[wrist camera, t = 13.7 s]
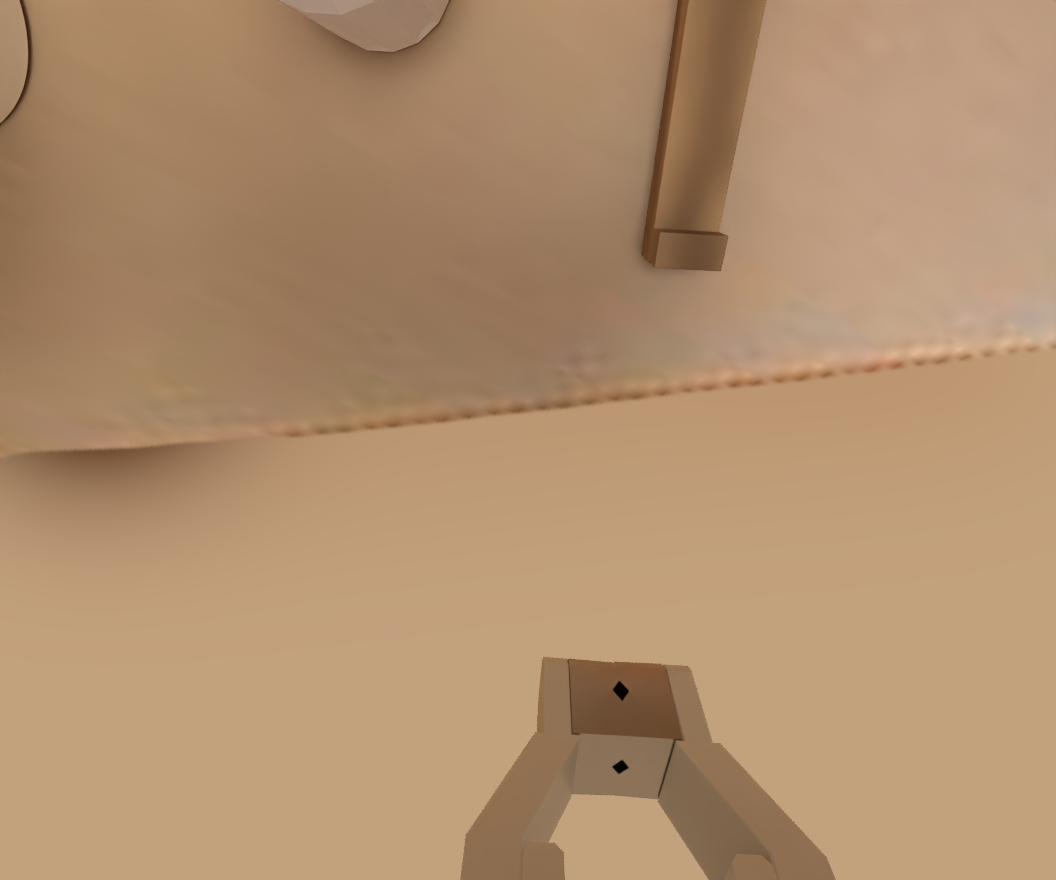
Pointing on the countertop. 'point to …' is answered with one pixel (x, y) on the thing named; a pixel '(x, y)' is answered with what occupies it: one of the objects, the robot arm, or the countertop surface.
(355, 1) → the soap bottle
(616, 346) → the countertop surface
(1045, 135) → the countertop surface
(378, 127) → the countertop surface
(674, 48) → the rail
